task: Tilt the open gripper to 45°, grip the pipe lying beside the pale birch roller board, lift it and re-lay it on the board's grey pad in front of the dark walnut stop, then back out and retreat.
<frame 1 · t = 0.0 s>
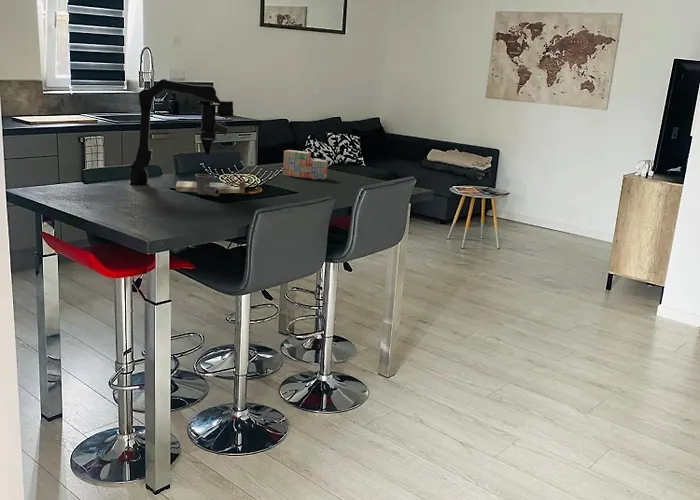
hand: (207, 153, 296), 15 cm above the table, tool pointing down, fingers open, 9 cm apart
pipe: (206, 195, 283), on the table
roller board: (210, 189, 294), on the table
stack of blocks: (304, 177, 345), on the table
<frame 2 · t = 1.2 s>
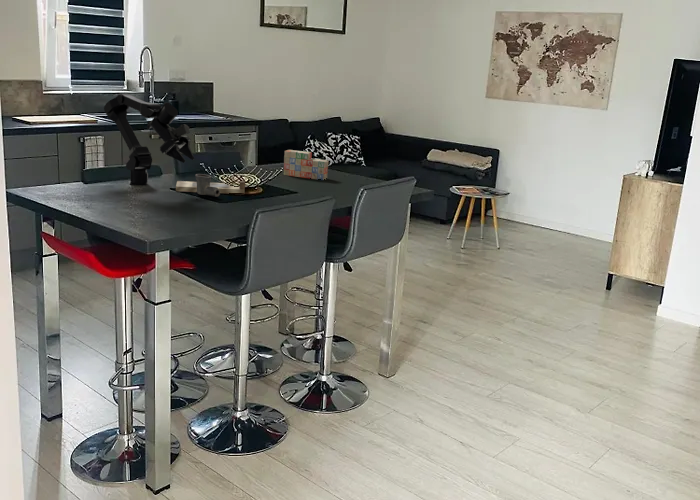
hand: (189, 160, 281), 13 cm above the table, tool tilted 45°, fingers open, 9 cm apart
nothing on the table moved.
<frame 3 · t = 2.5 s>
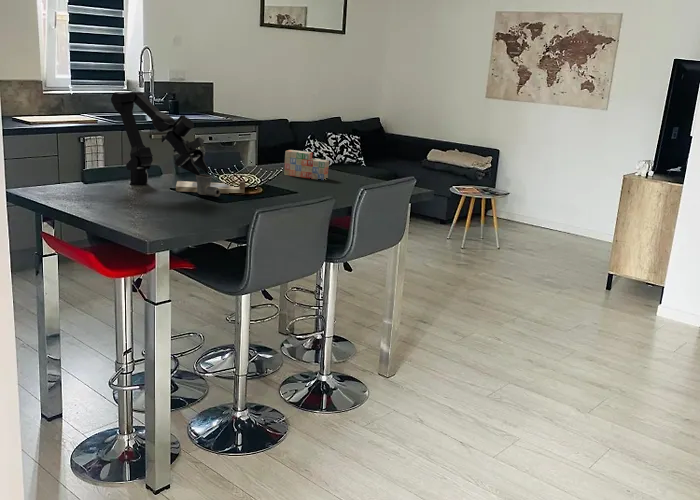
hand: (203, 173, 281), 9 cm above the table, tool tilted 45°, fingers open, 9 cm apart
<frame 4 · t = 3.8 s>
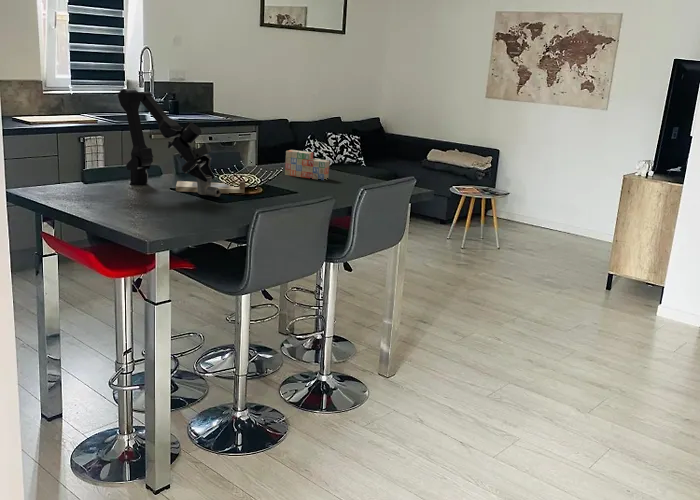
hand: (210, 179, 281), 7 cm above the table, tool tilted 45°, fingers open, 7 cm apart
pipe: (207, 196, 283), on the table, touching gripper
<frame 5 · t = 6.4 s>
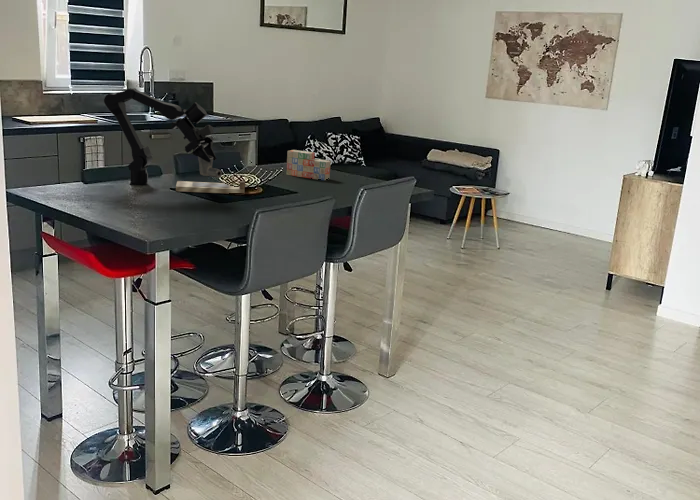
hand: (212, 160, 287), 13 cm above the table, tool tilted 45°, fingers closed on pipe, 6 cm apart
pipe: (209, 176, 289), point 6 cm above the table, touching gripper
when the fingers open (10 cm above the table, at t = 8.4 s): pipe drops 1 cm, resting on roller board.
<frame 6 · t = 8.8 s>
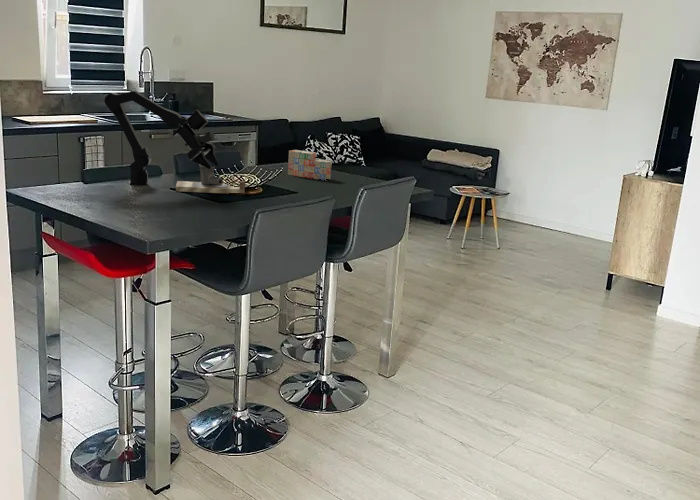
hand: (214, 166, 291), 10 cm above the table, tool tilted 45°, fingers open, 9 cm apart
pipe: (210, 185, 294), point 2 cm above the table, touching roller board
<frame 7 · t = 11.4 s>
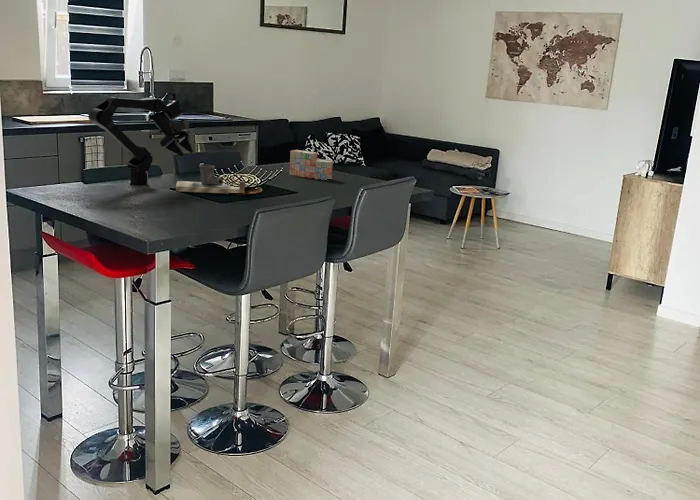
hand: (188, 154, 296), 14 cm above the table, tool tilted 45°, fingers open, 9 cm apart
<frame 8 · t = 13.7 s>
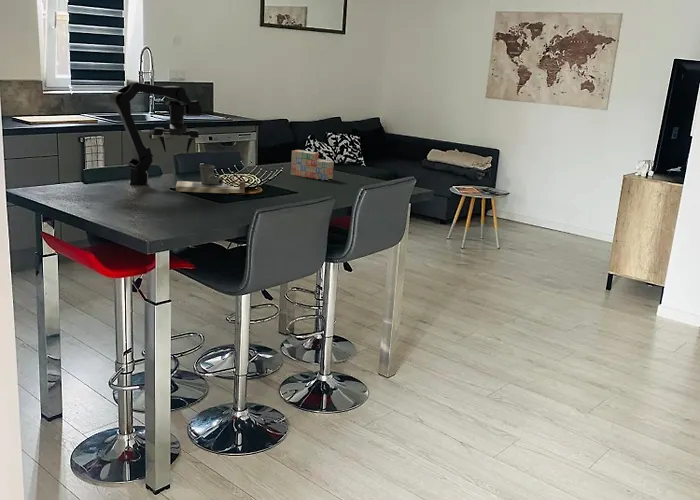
hand: (176, 152, 301), 13 cm above the table, tool pointing down, fingers open, 9 cm apart
at the end: pipe inside the target area on the roller board (0.1 cm from its centre), point 1.9 cm above the roller board's base; pipe tilted 0°; the gripper is holding nothing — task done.
